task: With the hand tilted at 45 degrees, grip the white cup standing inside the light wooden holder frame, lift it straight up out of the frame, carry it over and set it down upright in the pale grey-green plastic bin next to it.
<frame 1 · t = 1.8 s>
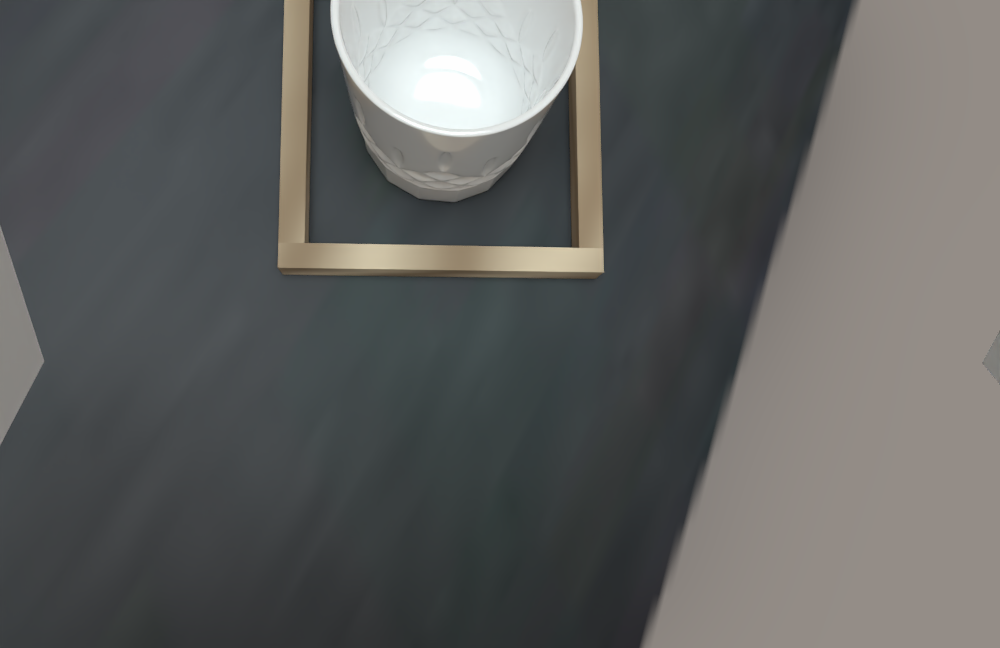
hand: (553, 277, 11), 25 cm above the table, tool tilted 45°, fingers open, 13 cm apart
white cup: (442, 128, 37), resting in holder frame
holder frame: (442, 126, 36), on the table
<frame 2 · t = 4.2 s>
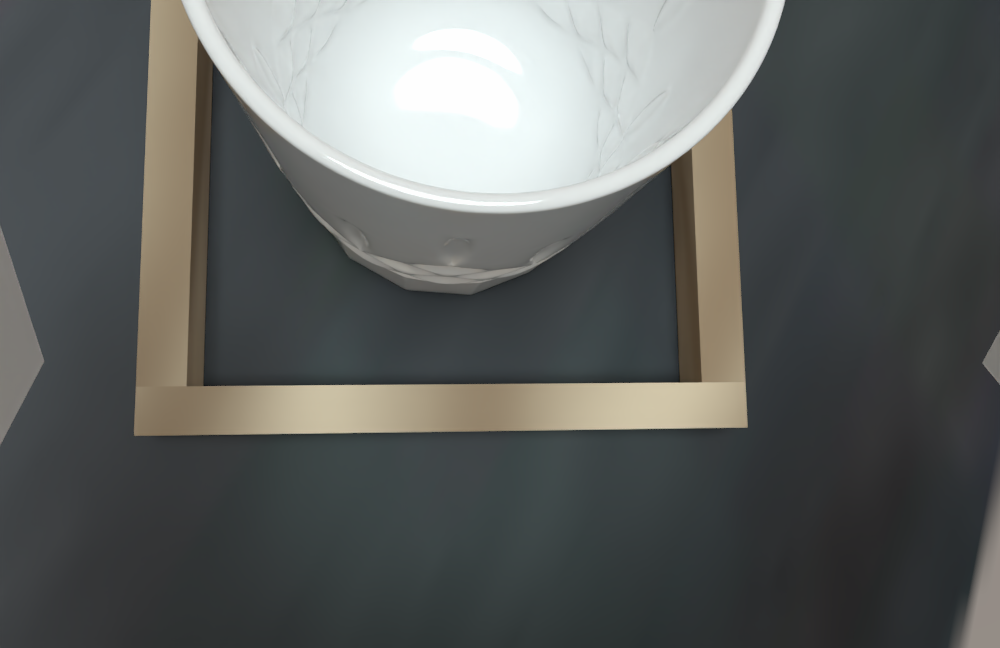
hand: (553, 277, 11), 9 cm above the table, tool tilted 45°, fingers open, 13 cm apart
white cup: (447, 160, 21), resting in holder frame
holder frame: (447, 157, 20), on the table
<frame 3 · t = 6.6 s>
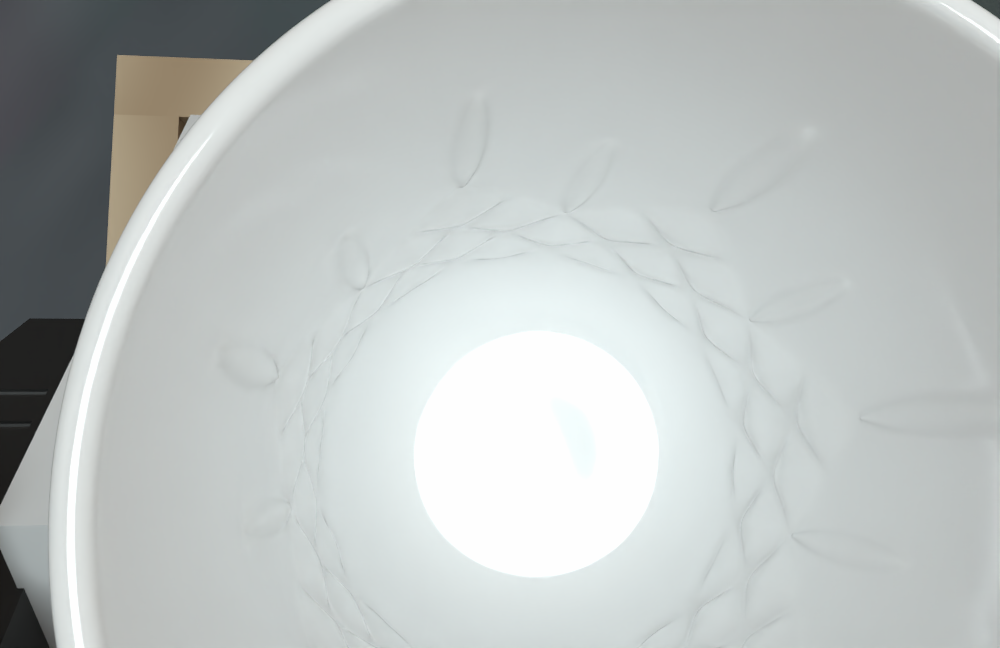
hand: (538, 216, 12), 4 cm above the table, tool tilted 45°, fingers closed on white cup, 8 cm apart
white cup: (507, 456, 15), resting in holder frame, touching gripper
holder frame: (508, 455, 15), on the table
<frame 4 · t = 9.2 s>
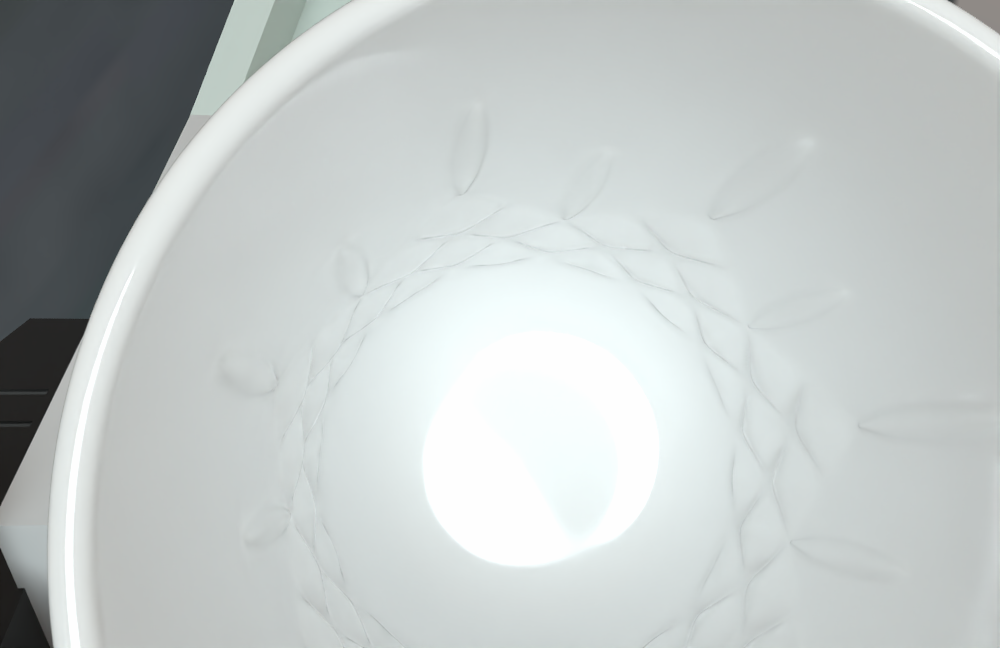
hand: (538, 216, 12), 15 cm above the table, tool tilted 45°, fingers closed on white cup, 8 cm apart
white cup: (506, 461, 15), point 11 cm above the table, touching gripper
bin: (489, 164, 28), on the table
when the fingers open (6 cm above the table, at t = 12.0 s): white cup drops 1 cm, resting on bin.
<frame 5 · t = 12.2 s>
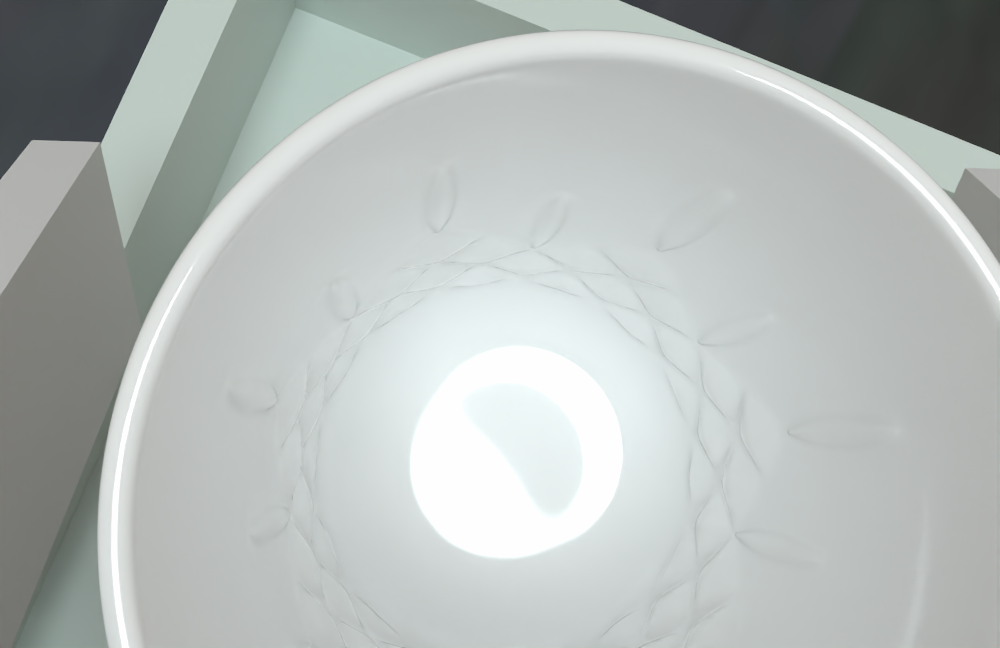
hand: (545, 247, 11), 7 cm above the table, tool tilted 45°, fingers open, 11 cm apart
white cup: (489, 461, 17), point 1 cm above the table, touching bin
bin: (494, 453, 18), on the table
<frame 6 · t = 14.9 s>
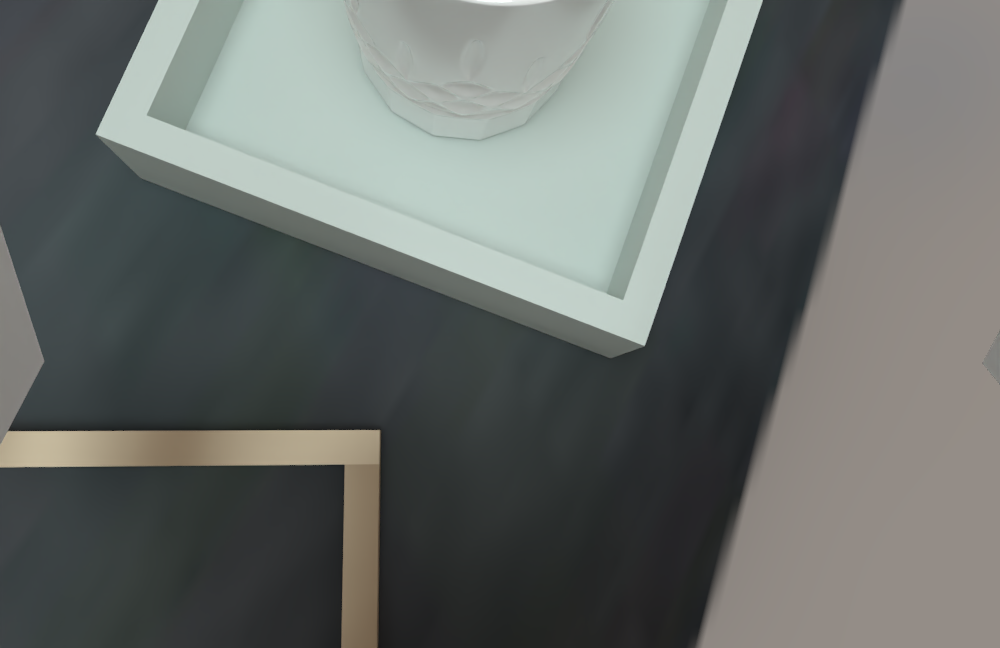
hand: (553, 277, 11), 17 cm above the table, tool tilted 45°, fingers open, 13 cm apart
white cup: (463, 44, 28), point 1 cm above the table, touching bin
bin: (467, 51, 29), on the table
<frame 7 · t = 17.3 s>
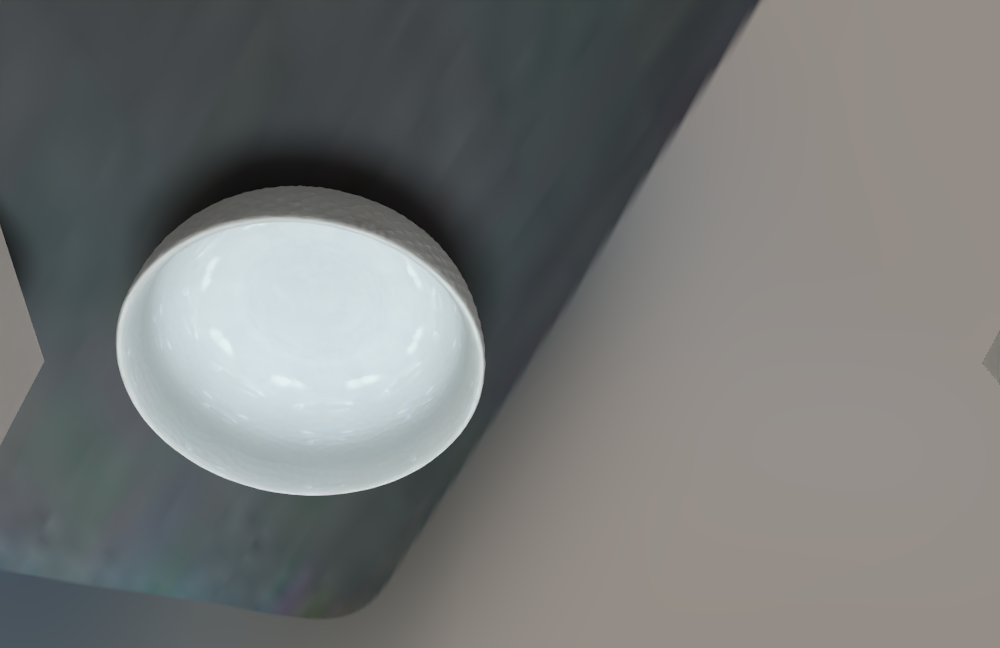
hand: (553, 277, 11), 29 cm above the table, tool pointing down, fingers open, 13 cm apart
cereal bowl: (319, 286, 45), on the table
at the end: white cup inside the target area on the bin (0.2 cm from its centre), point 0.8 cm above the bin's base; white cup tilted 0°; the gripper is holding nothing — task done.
